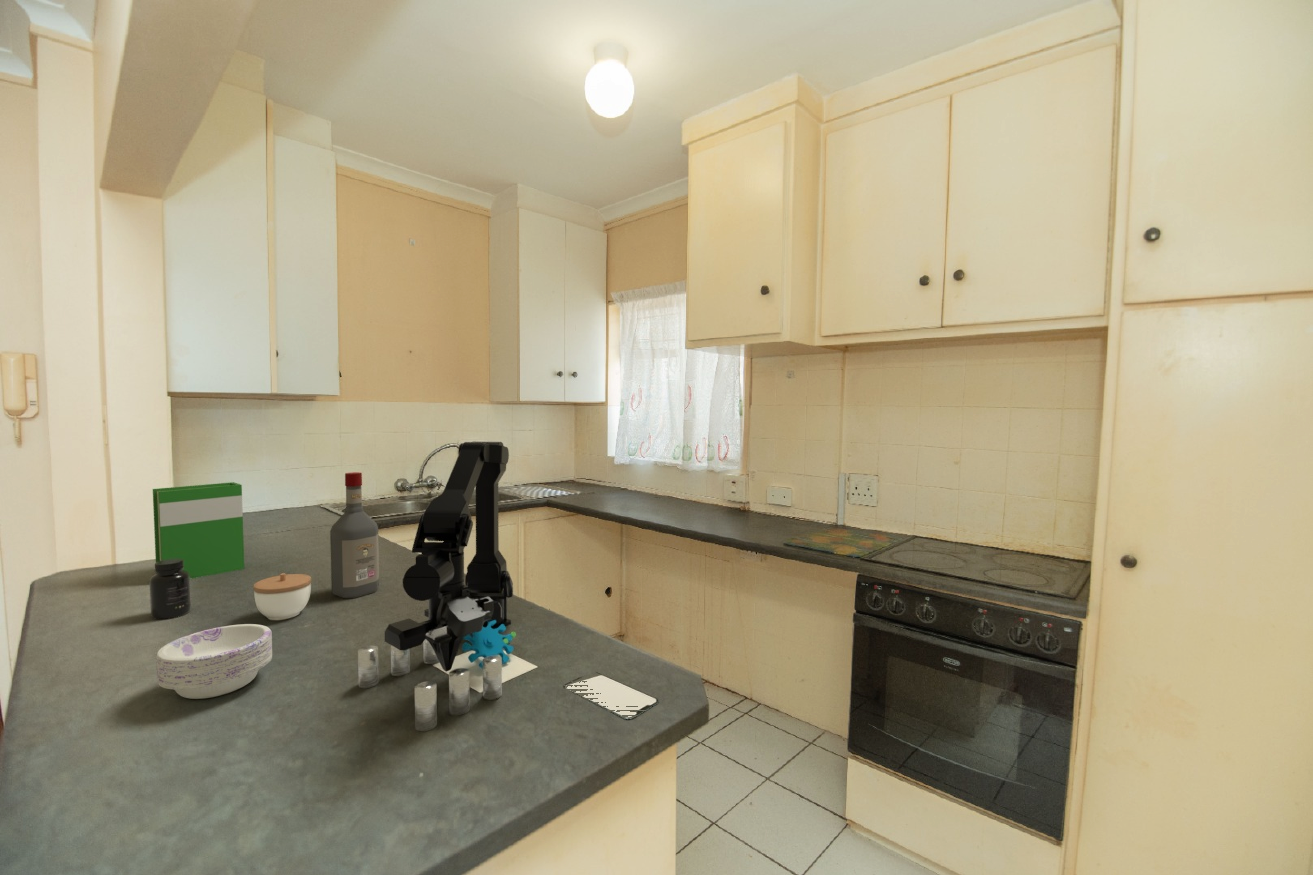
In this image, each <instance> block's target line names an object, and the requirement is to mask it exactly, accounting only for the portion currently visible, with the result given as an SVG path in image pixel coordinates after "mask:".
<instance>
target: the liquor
mask: <svg viewBox="0 0 1313 875" xmlns="http://www.w3.org/2000/svg"><path fill="white" fill-rule="evenodd" d="M362 473H363V472H356V471H355V472H353V471H352V472H345V474H344V486H345V508H344V513H343V514H342V515H341V516H340V517H339V518H338V519H337V520H336V521H335V522H334V524H333V525H332V526H331V529H330V531H329V538H330V571H331V572H330V573H331V575H330V578H331V579H330V580H331V586H330V587H331V593H332V594H333V596H336V597H339V598H341V599H356V598H360V597H363V596H367V595H370V594H374V593H375V592H376V591H377V590H378V589H379V587H380V563H379V562H380V560H379V559H380V557H379V555H380V554H379V548H380V547H379V526H378V524H377V522H376V521H375V520H374V519H373V518H371V516H370V515H368V513H367V512H366V511H364V507H363V498H362V497H363V496H362V486H363V474H362Z"/></svg>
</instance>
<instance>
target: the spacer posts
mask: <svg viewBox="0 0 1313 875" xmlns="http://www.w3.org/2000/svg"><path fill="white" fill-rule="evenodd" d="M422 644H423V647H422V648H423V654H422V655H423V663H424V664H426V665H434V664H437V663H439V660H438V658H437V656H436V654H435V651H434V650H433V648H432V646H431V645H430V643H429V642H428V640H426V639H425V640H424V642H423V643H422ZM410 661H411V660H410V649H407V650H399V649H397V648H395V647H394V646H392V645H390V672H391V674H390V675H392V676H393V677H401V676H405V675H407V674H408V673H410V672H411V668H410V667H411V662H410ZM357 665H358V667H357V668H358V670H357V672H358V674H357V675H358V687H359V688H361V689H369V688H373V687H375V686H377V685H378V684H379V647H378V646H376V645H365V646H362V647H360V648H358V650H357ZM502 688H503V683H502V657H501V656H498V655H491V656H487V657H485V658H484V659H483V692H482V698H484V699H485V700H487V701H488V700H496V698H497V699H499V698H500V697H501V696H503V689H502ZM470 691H471V690H470V687H469V670H468V669H466V668H458V669H454V670H452V671H451V672H450V673H449V675H448V702H449V703H448V708H449V710H448V711H449V714H451V715H452V716H461V715H462V716H463V715H464V714H466V713H468V712H469V711H470V709H471V706H470V704H471V702H470V701H471V700H470V698H471V697H470ZM437 692H438V691H437V683H436V682H435V681H431V680H428V681H427V680H426V681H422V682H419V683H417V684H416V685H415V686H414V729H415V731H419V732H426V731H430V730H432V729H434V728H435V727H437V724H438V714H437V713H438V709H437V704H438V703H437V700H438V699H437V698H438V696H437Z"/></svg>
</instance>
